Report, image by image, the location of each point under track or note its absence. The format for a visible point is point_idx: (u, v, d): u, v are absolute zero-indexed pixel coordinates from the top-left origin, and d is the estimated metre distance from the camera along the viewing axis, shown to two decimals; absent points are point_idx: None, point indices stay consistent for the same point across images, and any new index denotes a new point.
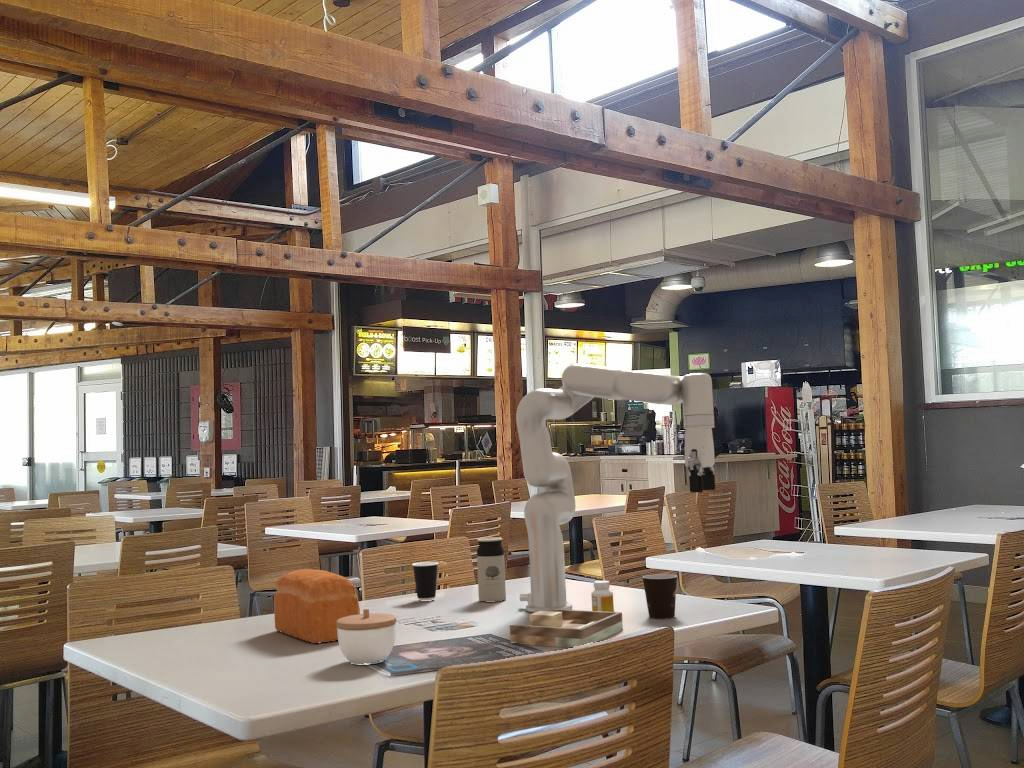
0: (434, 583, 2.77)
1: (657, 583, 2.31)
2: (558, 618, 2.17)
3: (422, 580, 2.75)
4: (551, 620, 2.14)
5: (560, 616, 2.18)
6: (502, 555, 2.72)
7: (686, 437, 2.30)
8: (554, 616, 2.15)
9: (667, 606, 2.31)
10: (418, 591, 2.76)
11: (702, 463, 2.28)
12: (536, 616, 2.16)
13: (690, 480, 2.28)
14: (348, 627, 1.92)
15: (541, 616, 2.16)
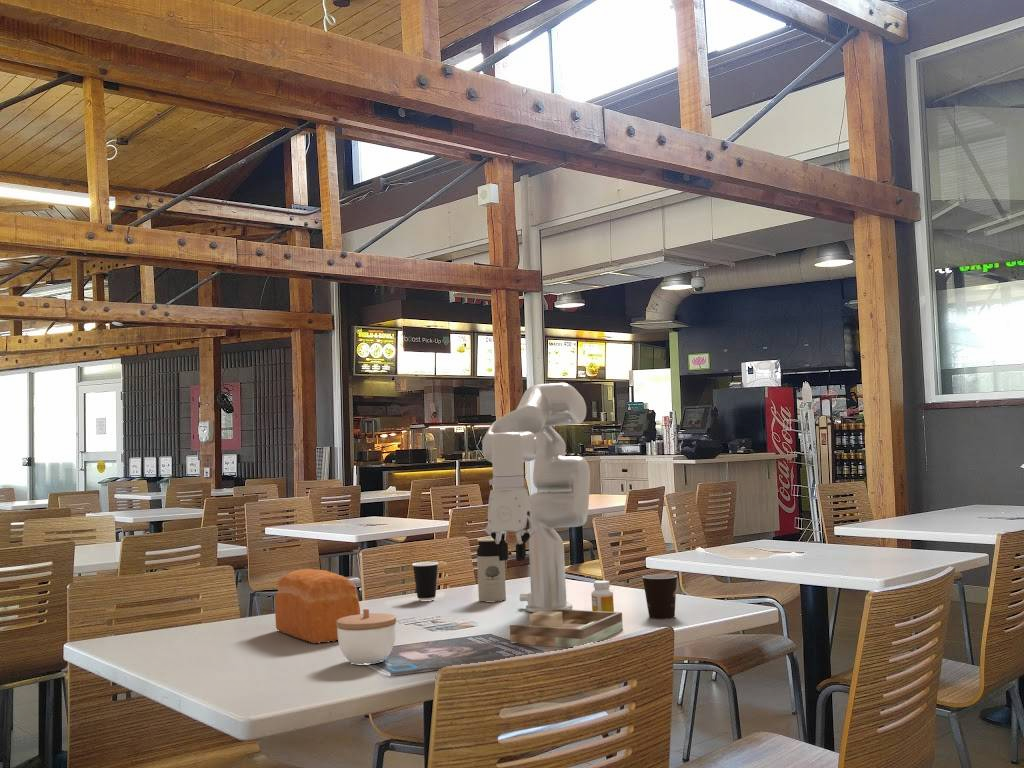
0: (434, 583, 2.77)
1: (657, 583, 2.31)
2: (558, 618, 2.17)
3: (422, 580, 2.75)
4: (551, 620, 2.14)
5: (560, 616, 2.18)
6: None
7: (522, 498, 2.20)
8: (554, 616, 2.15)
9: (667, 606, 2.31)
10: (418, 591, 2.76)
11: None
12: (536, 616, 2.16)
13: (518, 548, 2.21)
14: (348, 627, 1.92)
15: (541, 616, 2.16)
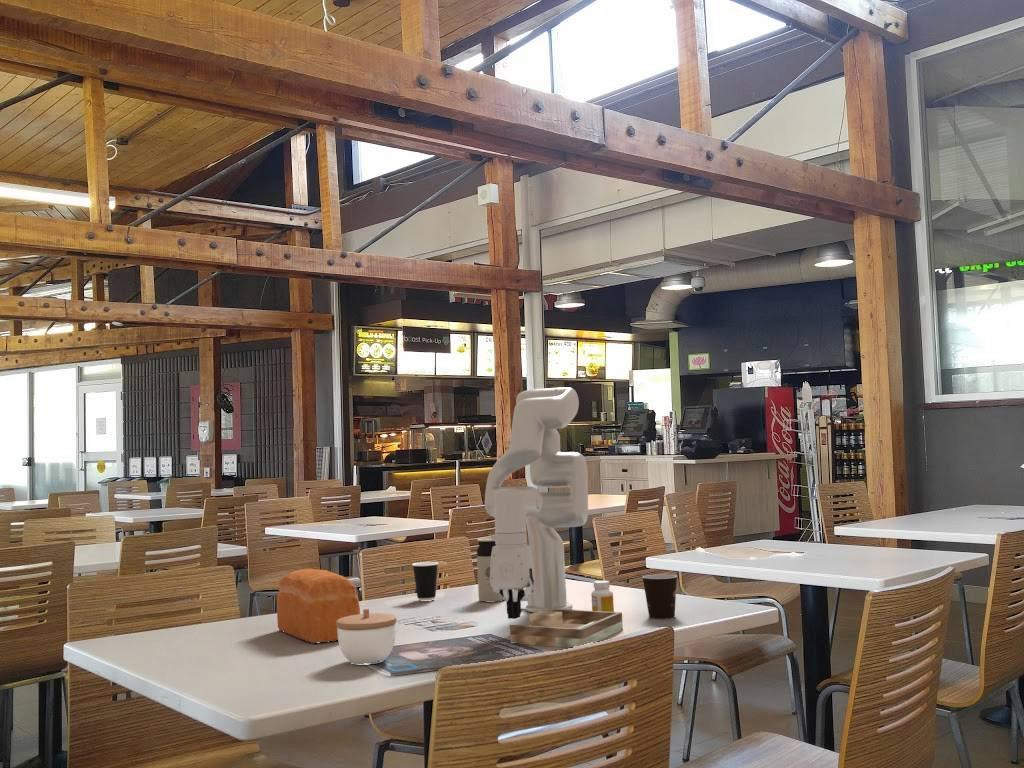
0: (434, 583, 2.77)
1: (657, 583, 2.31)
2: (558, 618, 2.17)
3: (422, 580, 2.75)
4: (551, 620, 2.14)
5: (560, 616, 2.18)
6: None
7: (524, 556, 2.19)
8: (554, 616, 2.15)
9: (667, 606, 2.31)
10: (418, 591, 2.76)
11: None
12: (536, 616, 2.16)
13: (513, 606, 2.20)
14: (348, 627, 1.92)
15: (541, 616, 2.16)
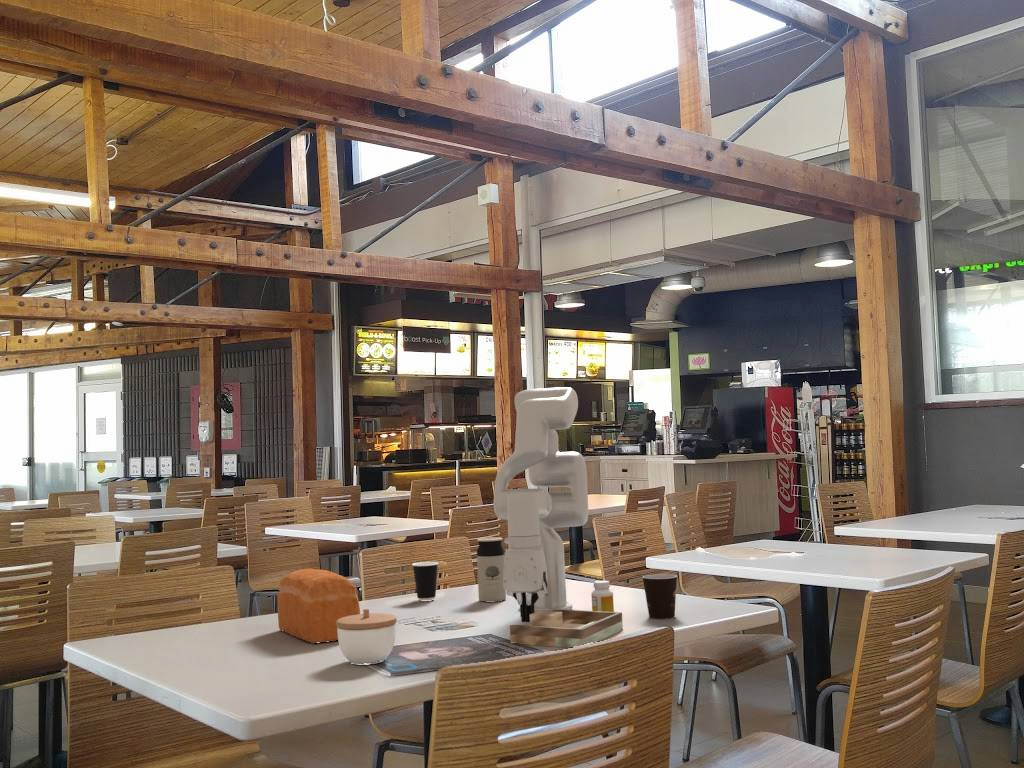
0: (434, 583, 2.77)
1: (657, 583, 2.31)
2: (558, 618, 2.17)
3: (422, 580, 2.75)
4: (551, 620, 2.14)
5: (560, 616, 2.18)
6: (502, 555, 2.72)
7: (538, 559, 2.17)
8: (554, 616, 2.15)
9: (667, 606, 2.31)
10: (418, 591, 2.76)
11: None
12: (536, 616, 2.16)
13: (527, 609, 2.19)
14: (348, 627, 1.92)
15: (541, 616, 2.16)
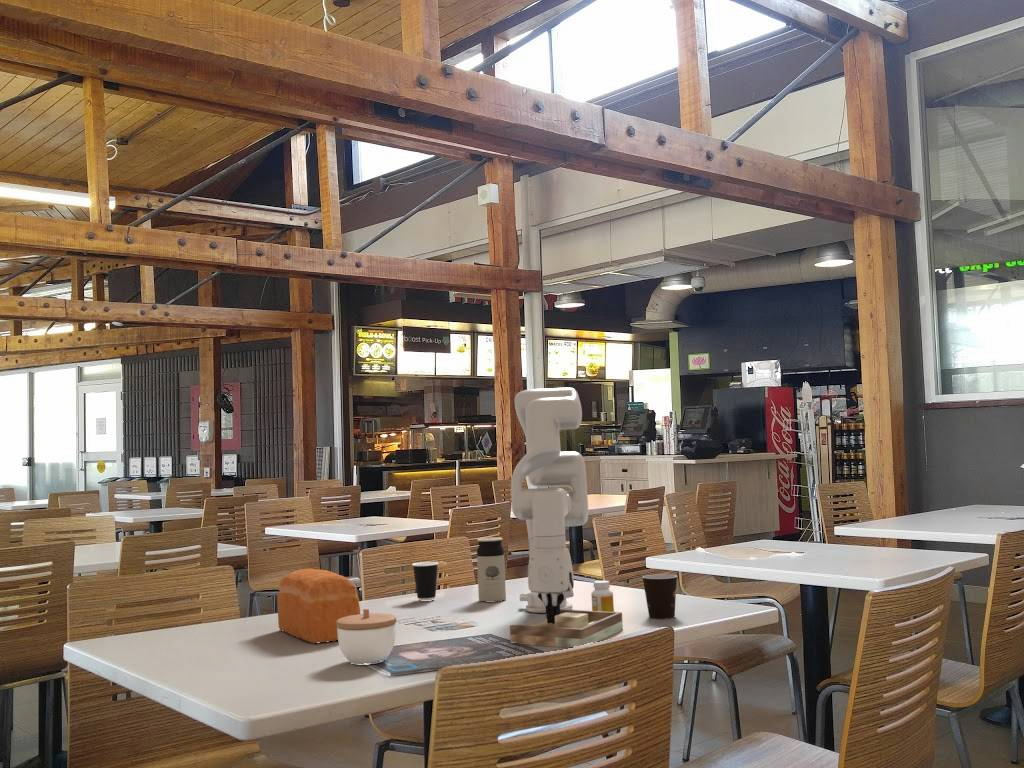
0: (434, 583, 2.77)
1: (657, 583, 2.31)
2: (584, 620, 2.13)
3: (422, 580, 2.75)
4: (576, 622, 2.10)
5: (586, 617, 2.14)
6: (502, 555, 2.72)
7: (564, 559, 2.14)
8: (579, 618, 2.11)
9: (667, 606, 2.31)
10: (418, 591, 2.76)
11: None
12: (561, 618, 2.13)
13: (553, 610, 2.15)
14: (348, 627, 1.92)
15: (566, 618, 2.12)
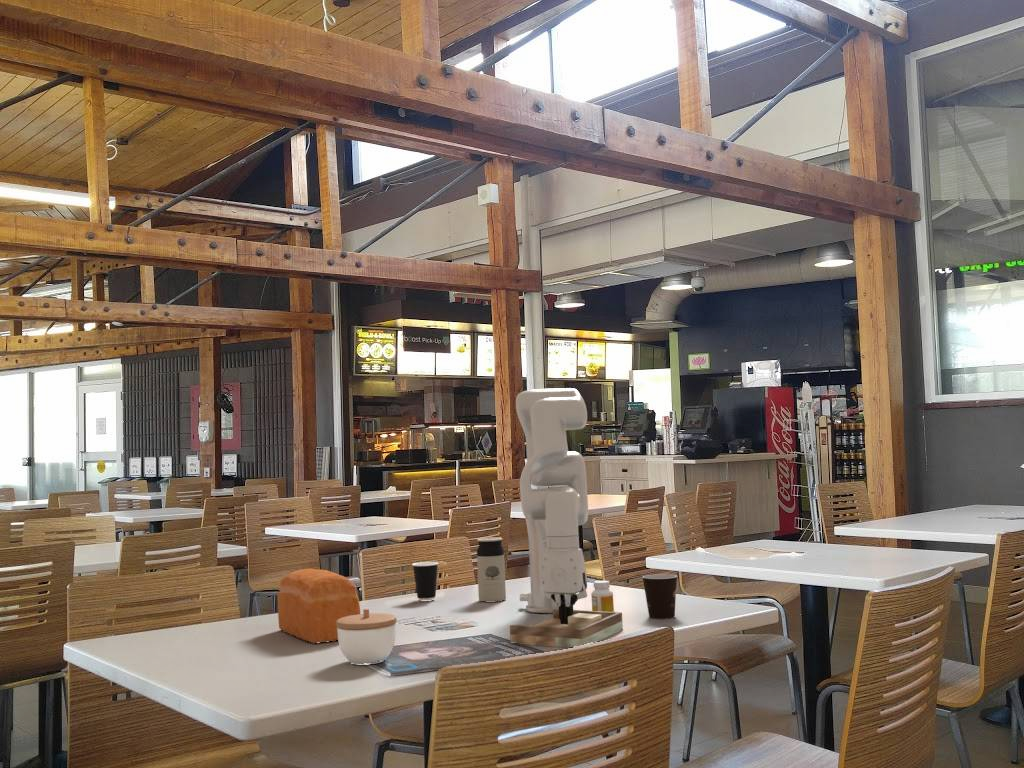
0: (434, 583, 2.77)
1: (658, 583, 2.31)
2: None
3: (422, 580, 2.75)
4: (590, 623, 2.09)
5: (599, 618, 2.12)
6: (502, 555, 2.72)
7: (577, 560, 2.12)
8: (593, 619, 2.09)
9: (667, 606, 2.31)
10: (418, 591, 2.76)
11: None
12: (574, 618, 2.11)
13: (566, 611, 2.14)
14: (348, 627, 1.92)
15: (579, 619, 2.10)
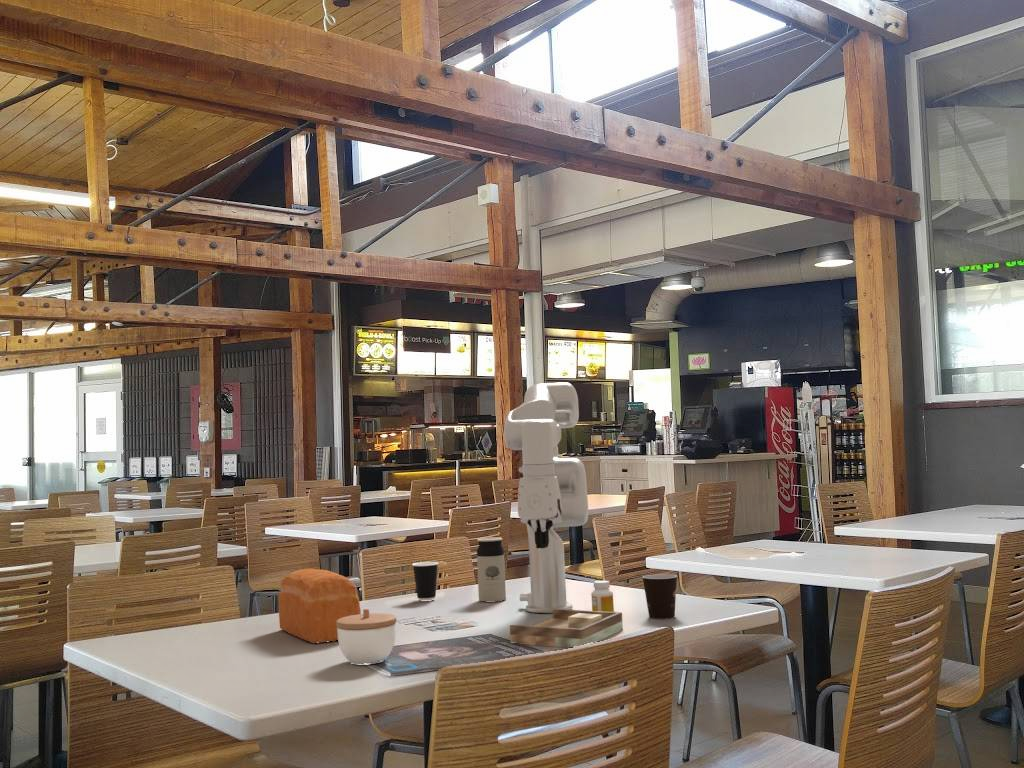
0: (434, 583, 2.77)
1: (657, 583, 2.31)
2: None
3: (422, 580, 2.75)
4: (590, 623, 2.09)
5: (599, 618, 2.12)
6: (502, 555, 2.72)
7: (552, 487, 2.21)
8: (593, 619, 2.09)
9: (667, 606, 2.31)
10: (418, 591, 2.76)
11: None
12: (575, 618, 2.11)
13: (541, 536, 2.23)
14: (348, 627, 1.92)
15: (580, 619, 2.10)
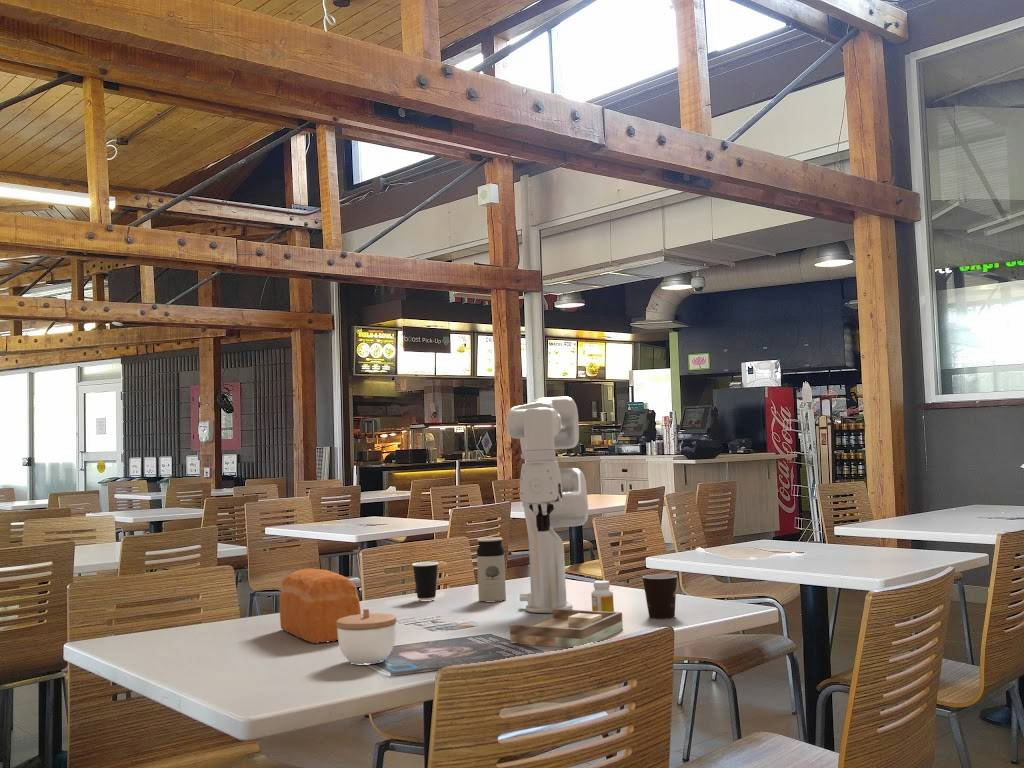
0: (434, 583, 2.77)
1: (657, 583, 2.31)
2: None
3: (422, 580, 2.75)
4: (590, 623, 2.09)
5: (599, 618, 2.12)
6: (502, 555, 2.72)
7: (553, 471, 2.29)
8: (593, 619, 2.09)
9: (667, 606, 2.31)
10: (418, 591, 2.76)
11: None
12: (575, 618, 2.11)
13: (543, 519, 2.30)
14: (348, 627, 1.92)
15: (580, 619, 2.10)
